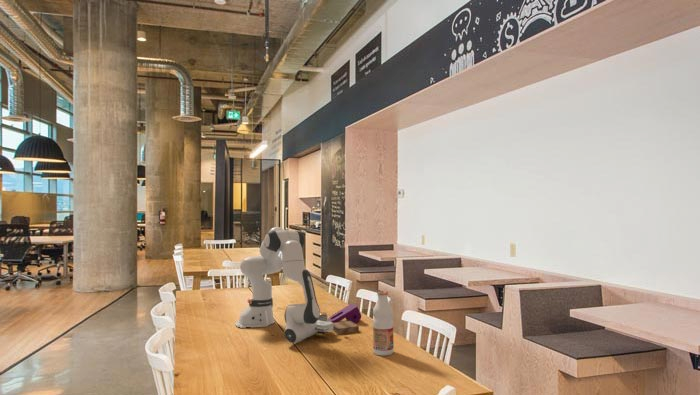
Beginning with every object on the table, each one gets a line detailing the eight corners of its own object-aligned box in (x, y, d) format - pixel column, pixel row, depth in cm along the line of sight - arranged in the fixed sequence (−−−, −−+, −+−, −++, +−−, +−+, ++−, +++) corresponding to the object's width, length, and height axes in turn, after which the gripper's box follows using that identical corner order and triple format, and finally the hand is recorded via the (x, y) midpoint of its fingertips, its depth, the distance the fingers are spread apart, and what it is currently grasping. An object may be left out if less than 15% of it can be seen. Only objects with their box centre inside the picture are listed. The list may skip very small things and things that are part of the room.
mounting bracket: (336, 335, 257) (363, 319, 262) (330, 322, 256) (357, 306, 261) (332, 331, 266) (358, 315, 271) (326, 318, 265) (352, 303, 270)
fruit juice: (370, 350, 212) (370, 290, 213) (389, 348, 214) (389, 289, 215) (376, 357, 203) (375, 294, 203) (396, 355, 205) (395, 293, 206)
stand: (337, 334, 239) (337, 328, 239) (330, 328, 250) (330, 323, 250) (358, 331, 243) (358, 326, 243) (350, 326, 254) (350, 320, 254)
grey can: (319, 333, 240) (318, 314, 241) (315, 331, 245) (315, 312, 246) (328, 332, 242) (328, 313, 243) (325, 330, 248) (325, 311, 248)
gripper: (325, 323, 228) (339, 317, 240) (292, 319, 237) (307, 313, 250) (325, 336, 227) (339, 329, 240) (292, 331, 237) (307, 324, 249)
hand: (322, 321), depth 245 cm, fingers open, 8 cm apart
